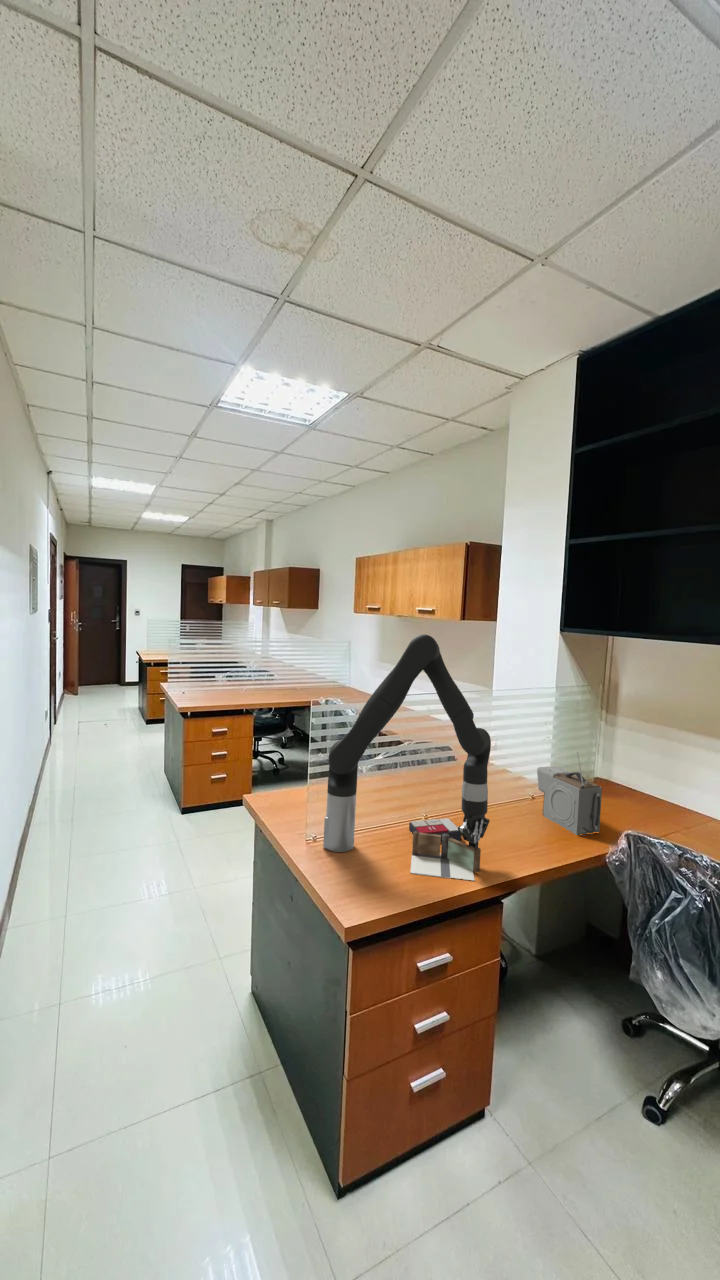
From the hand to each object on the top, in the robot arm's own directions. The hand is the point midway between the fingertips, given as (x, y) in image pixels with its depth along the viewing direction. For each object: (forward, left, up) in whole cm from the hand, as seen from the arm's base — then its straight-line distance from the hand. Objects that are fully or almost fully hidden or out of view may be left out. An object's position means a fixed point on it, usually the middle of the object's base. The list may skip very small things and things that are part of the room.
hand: (473, 853), depth 144 cm
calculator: (-11, +19, -4) cm, 23 cm away
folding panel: (-3, -2, -3) cm, 4 cm away
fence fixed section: (-13, +3, -4) cm, 13 cm away
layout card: (-9, -2, -4) cm, 10 cm away
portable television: (+38, +44, -4) cm, 58 cm away
